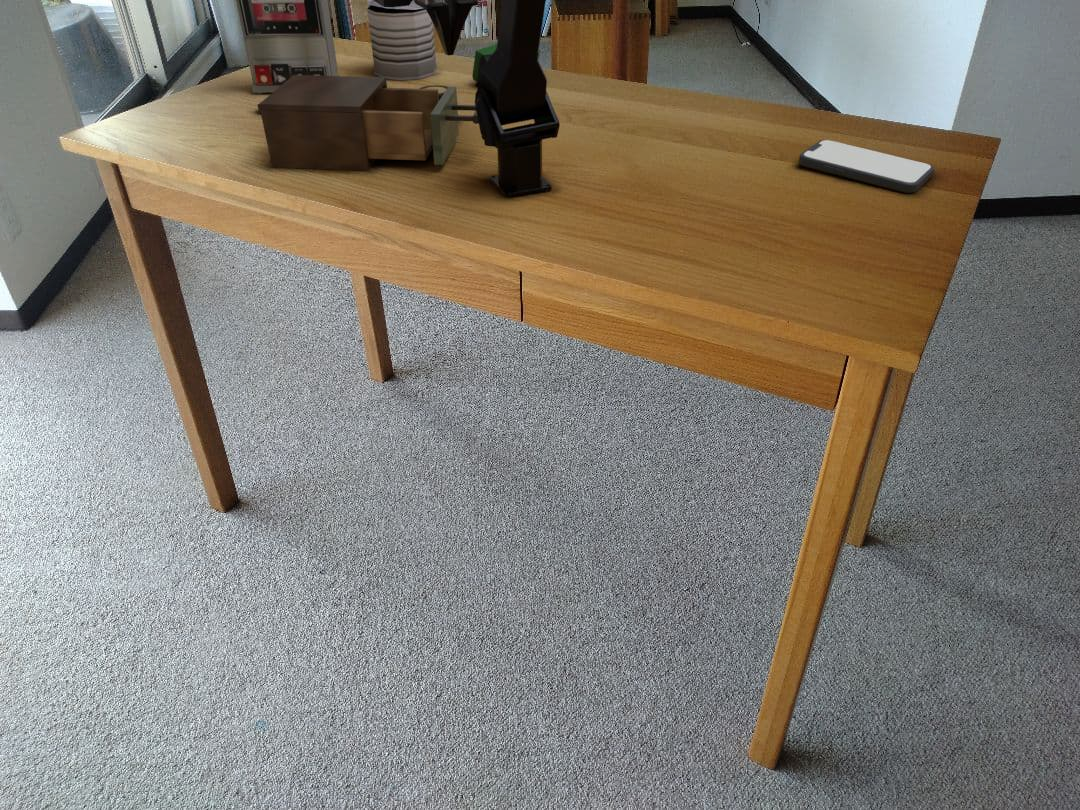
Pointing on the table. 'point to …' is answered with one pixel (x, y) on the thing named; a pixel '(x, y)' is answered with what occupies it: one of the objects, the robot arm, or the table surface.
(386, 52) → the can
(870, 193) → the table surface
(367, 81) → the cabinet
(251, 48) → the cassette tape recorder
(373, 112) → the drawer
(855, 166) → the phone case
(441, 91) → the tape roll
